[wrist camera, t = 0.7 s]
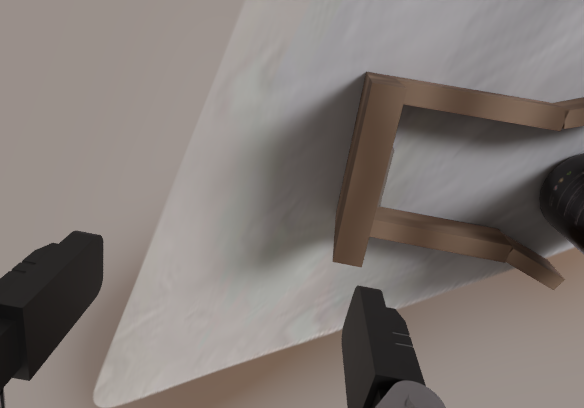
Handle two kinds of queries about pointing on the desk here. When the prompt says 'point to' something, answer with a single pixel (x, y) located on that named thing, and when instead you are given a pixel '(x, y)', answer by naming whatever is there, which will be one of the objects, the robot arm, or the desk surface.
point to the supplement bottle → (566, 200)
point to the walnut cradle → (377, 159)
